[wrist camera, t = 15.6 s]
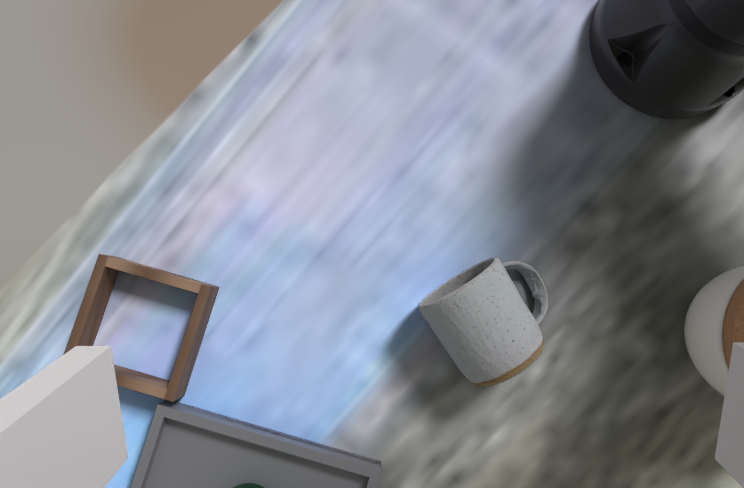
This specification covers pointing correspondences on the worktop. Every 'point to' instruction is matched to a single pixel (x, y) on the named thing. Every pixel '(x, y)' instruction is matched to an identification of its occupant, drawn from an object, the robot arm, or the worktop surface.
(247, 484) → the soda can
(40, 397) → the robot arm
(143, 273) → the walnut collar
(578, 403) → the worktop surface
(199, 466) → the grey tray
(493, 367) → the ceramic mug
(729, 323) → the lidded bowl
